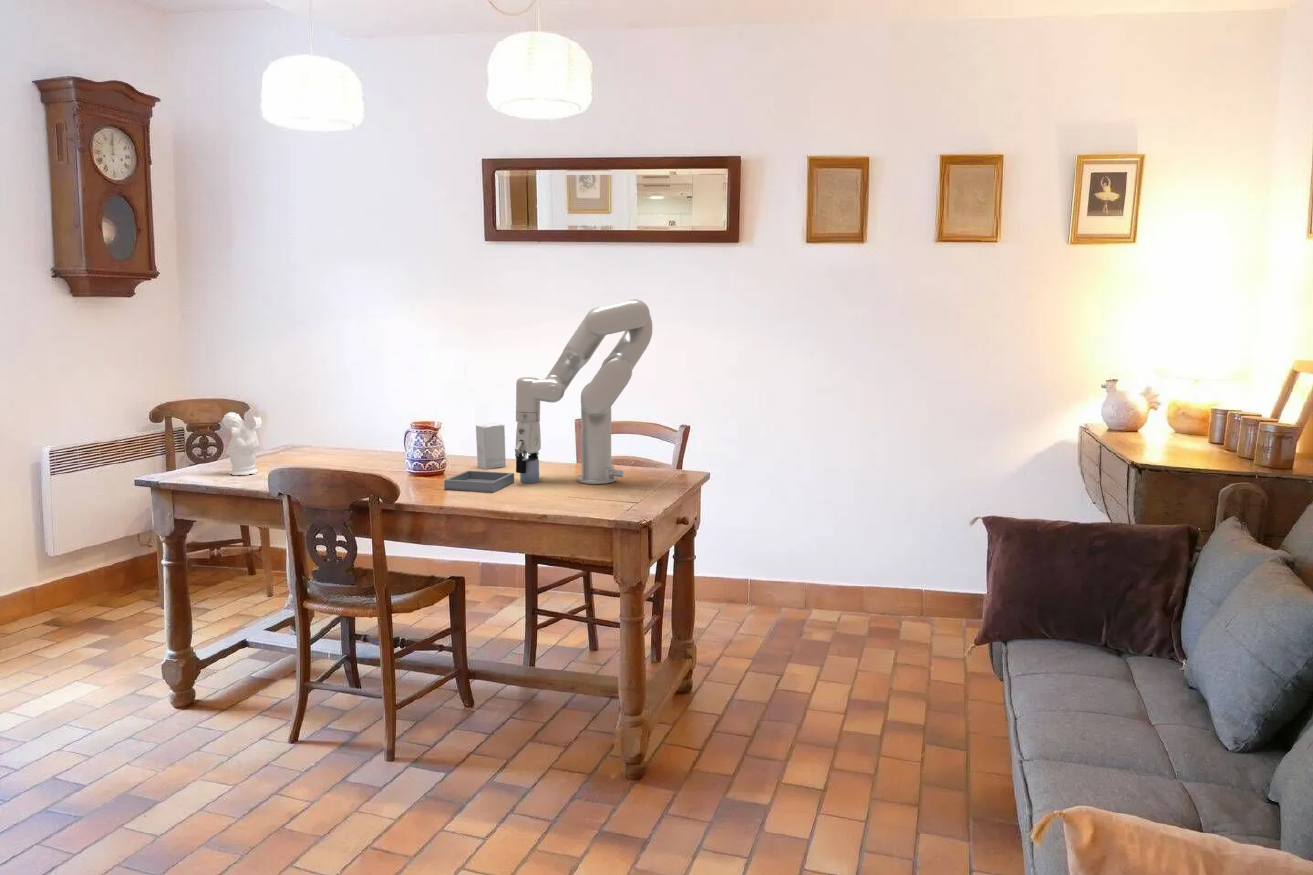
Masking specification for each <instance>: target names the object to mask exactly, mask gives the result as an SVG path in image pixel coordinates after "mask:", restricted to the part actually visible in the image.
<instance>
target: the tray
mask: <svg viewBox="0 0 1313 875" xmlns="http://www.w3.org/2000/svg"><path fill="white" fill-rule="evenodd" d="M443 483H444V484H443V485H444V486H443V487H444V491H457V492H458V491H460V492H476V493H489V494H490V493H491V494H492V493H496V492H498V491H500V490H502V489H503V488H506V487H508V486H510V485H513V484H514V483H515V473H514V472H502V471H501V472H497V471H484V470H483V471H481V470H465V471H463V472H461V473H458V474H456V475H453V476H451V477H448V478H446V479H444V482H443Z"/></svg>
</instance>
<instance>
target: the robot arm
mask: <svg viewBox="0 0 1313 875" xmlns="http://www.w3.org/2000/svg"><path fill="white" fill-rule="evenodd" d="M621 332H624V333H623V335H622V336H621V337H620V339H619V340H618V342H617V343H616V345H615V346H614V348H613V349H612V350H611V352H610V353H609V354H608V356H607V357H606V358H605V359H603V361H602V363H601V367H600V368H599V370H598V371H597V372H596V374H595V375H594V377H593V378H592V380H591V381H590V382H589V383H587V384H586V385H585V386H584V387H583V388H582V390H581V393H580V415H581V416H580V417H581V418H580V420H581V421H580V422H581V424H580V428H581V431H580V432H581V434H580V435H581V436H580V437H581V438H580V439H581V441H580V443H581V445H580V447H581V448H580V449H581V474H579V475H577V477H576V481H577V482H578V483H581V484H587V485H604V484H610V483H611V484H612V483H614V482H616V481H617V478H623V477H624V475H625V472H624V471H623V470H620V469H618V470H617V469H615V465H612V406H613V405H614V403H615V402H616V401H617V399H618V398H619V397H620V395H621V394H622V393H623V392H624V389H625V388H626V387H627V385H628V384H629V382H630V381H631V379H632V376H633V370H634V368H635V366H636V365H637V363H638V362H639V361H640V359H641V358H642V355H643V354H644V353H645V351H646V350H647V348H648V346H649V344H650V342H651V340H652V335H653V320H652V317H651V313H650V308H649V307H648V305H647V304H646V303H645V302H644V301H642V300H640V299H629V300H627V301H625V302H620V303H617V304H612V305H608V306H603V307H602V306H601V307H600V306H598V307H594V308H592V309H590V310H589V311H588V312H587V314H586V315H585V316H584V318H583V320H582V321H581V322H580V324H579V325H578V327H577V329H576V330H575V331H574V333H573V335H571V337H570V339H569V340H568V342H567V343H566V345H565V346H564V348H563V349H562V350H563V351H562V353H561V354H560V356H559V357H558V359H557V361H556V362H555V364H554V365H553V367H552V368H551V369H550V372H549V373H548V374H547V375H546V377H545V378H544V379H540V378H537V377H530V376H528V377H526V376H525V377H524V376H523V377H519V378H518V379H517V380H516V383H515V384H516V386H515V387H516V388H515V391H516V392H515V422H516V423H517V424H516V432H515V447H514V452H515V454H514V455H515V472H516V473H517V474H520V473H526V461H525V459H526V458H535V459H539V454H540V453H539V451H541V448H542V444H541V442H542V440H541V439H542V438H541V435H542V434H541V426H540V425H541V424H540V422H541V402H545V403H557V402H559V401H561V400H562V399H563V397H564V395H565V393H566V390H567V389H568V387H569V386H570V384H571V383H572V381H573V380H574V378H575V377H576V375H577V374H578V373H579V371H580V370H581V369H582V368H583V367H584V366H586V365H587V363H589V361H590V359H592V356H593V355H594V353H595V352H596V351H597V349H598V348H599V346H600V345H601V343H602V342H603V340H604V338H605V337H606V336H608V335H612V334H617V333H621ZM527 455H528V456H527Z"/></svg>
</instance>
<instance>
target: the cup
mask: <svg viewBox="0 0 1313 875" xmlns="http://www.w3.org/2000/svg"><path fill="white" fill-rule="evenodd" d="M525 461H526V473H519V479H520V480H519V482H520V483H522V484H537V483H539V482H540V459H539V458H538V459H535V458H528V457H526V459H525Z"/></svg>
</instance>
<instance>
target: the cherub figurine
mask: <svg viewBox="0 0 1313 875" xmlns="http://www.w3.org/2000/svg"><path fill="white" fill-rule="evenodd" d="M243 419H244V420H243ZM243 419H242V417H241V416H240V414H239V413H236V412H233V411H232V412H227V413H226V414H224V415H223V418H222V422H223V425H224V427H225V428H226V429H229V432H230V433H231V439H230V441H229V443H228V446H227V448H226V450H225V454H224V455H226V456H227V455H228V456H229V460H230V463H231V465H232V466H231V469H232V470H230V471H229V475H230V474H232V475H249V474H253V475H256V474H255V473H257V474H258V473H259V470H258V469H257V468H255V467H256V464H255V462H256V460H257V459H256V458H257V454H256V452H255V450H258V449H259V447H260V442H259V438H258V435H257V431H256V430H259V429H261V428H262V424H263V418H261V416H257V417H256V416H255V415H254V412H253V410H252V408H249V409H248V410H247V411H245V413H244V415H243ZM232 475H231V476H232ZM249 476H250V475H249Z"/></svg>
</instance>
